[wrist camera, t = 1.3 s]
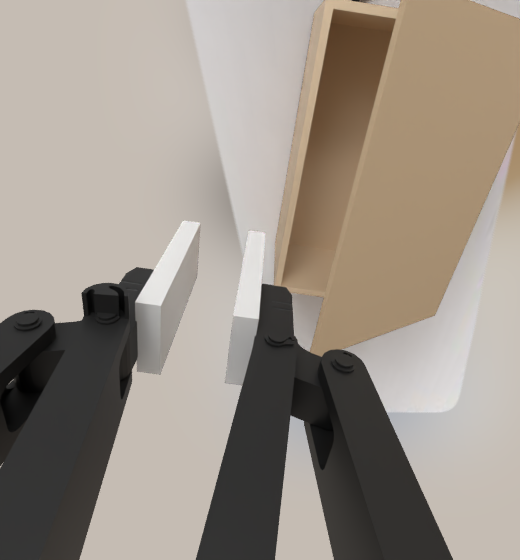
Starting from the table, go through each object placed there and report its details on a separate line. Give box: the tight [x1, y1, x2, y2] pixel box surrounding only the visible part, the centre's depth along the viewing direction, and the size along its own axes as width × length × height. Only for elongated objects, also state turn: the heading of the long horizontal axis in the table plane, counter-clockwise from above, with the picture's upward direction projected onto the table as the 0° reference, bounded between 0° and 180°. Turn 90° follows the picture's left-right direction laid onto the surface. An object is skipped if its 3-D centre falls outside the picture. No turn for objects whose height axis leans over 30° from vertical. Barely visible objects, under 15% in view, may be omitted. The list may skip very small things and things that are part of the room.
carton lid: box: [310, 0, 520, 357], centre depth 29 cm, size 24×16×1 cm
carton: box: [274, 0, 399, 297], centre depth 38 cm, size 24×16×11 cm, turn 172°
